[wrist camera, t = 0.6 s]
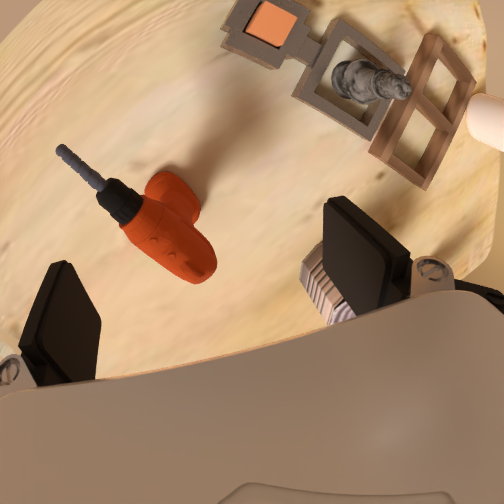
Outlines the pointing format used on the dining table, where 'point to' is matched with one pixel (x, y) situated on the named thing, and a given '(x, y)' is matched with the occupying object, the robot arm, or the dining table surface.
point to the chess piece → (368, 82)
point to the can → (323, 289)
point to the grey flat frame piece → (309, 58)
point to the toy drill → (155, 219)
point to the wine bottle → (486, 119)
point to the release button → (270, 24)
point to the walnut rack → (425, 112)
